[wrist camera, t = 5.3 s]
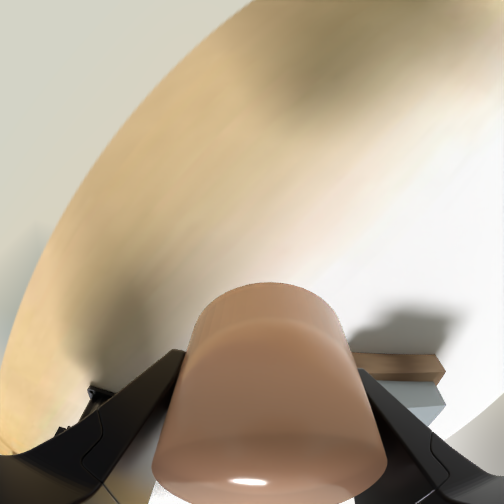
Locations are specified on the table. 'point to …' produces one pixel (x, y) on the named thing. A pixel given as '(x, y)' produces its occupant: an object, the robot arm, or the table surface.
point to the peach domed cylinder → (268, 406)
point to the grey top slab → (417, 398)
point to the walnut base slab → (401, 367)
